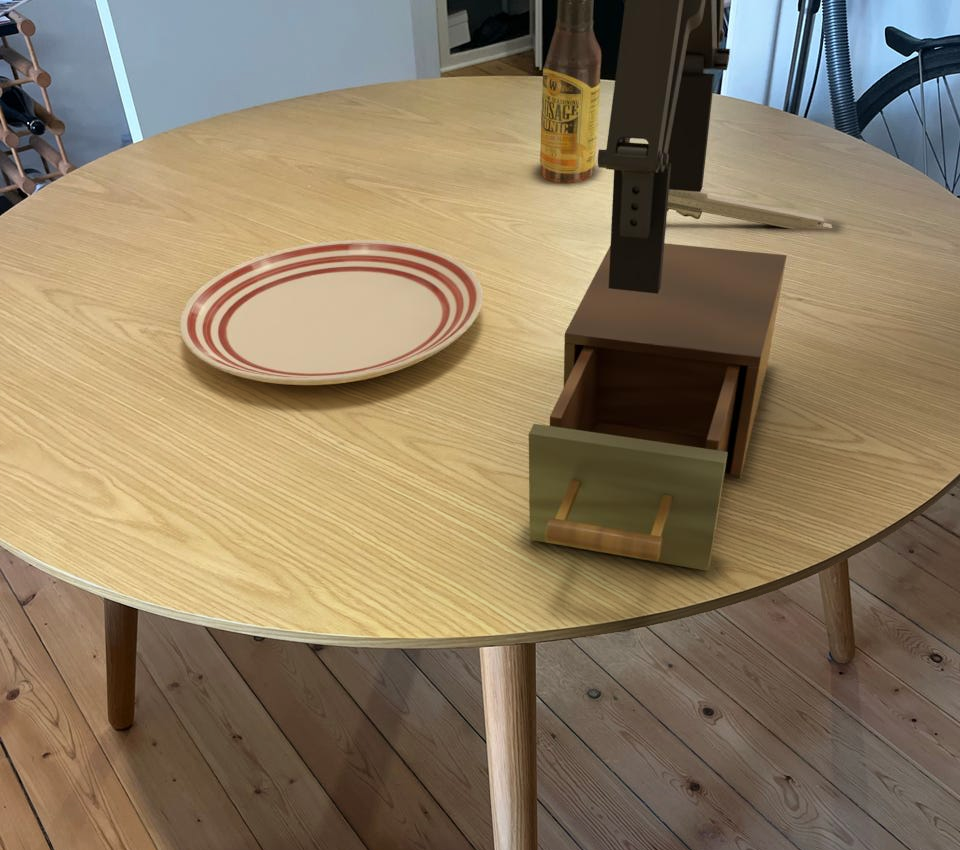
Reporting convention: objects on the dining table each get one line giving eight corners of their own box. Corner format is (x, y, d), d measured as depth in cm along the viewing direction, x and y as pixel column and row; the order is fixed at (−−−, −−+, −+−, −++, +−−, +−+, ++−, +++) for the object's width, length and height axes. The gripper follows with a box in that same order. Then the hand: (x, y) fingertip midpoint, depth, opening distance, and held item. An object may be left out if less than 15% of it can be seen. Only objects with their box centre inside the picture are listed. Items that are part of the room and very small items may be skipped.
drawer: (693, 629, 64) (709, 520, 58) (505, 594, 67) (501, 486, 61) (738, 448, 78) (756, 343, 71) (580, 425, 81) (583, 323, 74)
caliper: (632, 233, 107) (636, 171, 102) (632, 228, 107) (636, 167, 103) (833, 234, 104) (846, 171, 100) (832, 230, 105) (845, 167, 101)
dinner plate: (165, 298, 101) (156, 266, 98) (427, 244, 107) (425, 212, 104) (218, 446, 82) (208, 410, 80) (530, 370, 88) (530, 335, 86)
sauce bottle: (529, 179, 117) (527, -21, 103) (565, 163, 120) (568, -34, 106) (571, 194, 114) (576, -11, 100) (607, 177, 117) (617, -25, 103)
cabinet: (739, 484, 76) (761, 357, 68) (562, 457, 79) (564, 333, 72) (765, 376, 86) (786, 254, 79) (607, 356, 90) (613, 237, 82)
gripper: (745, -203, 35) (685, 348, 51) (813, -275, 52) (752, 158, 67) (537, -200, 37) (539, 331, 52) (666, -271, 54) (639, 149, 69)
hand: (658, 234), depth 60 cm, fingers open, 13 cm apart
